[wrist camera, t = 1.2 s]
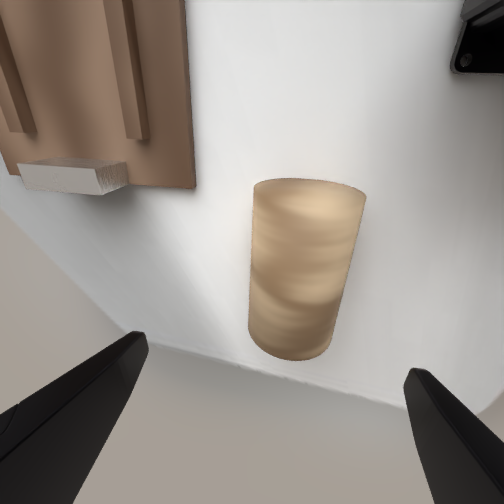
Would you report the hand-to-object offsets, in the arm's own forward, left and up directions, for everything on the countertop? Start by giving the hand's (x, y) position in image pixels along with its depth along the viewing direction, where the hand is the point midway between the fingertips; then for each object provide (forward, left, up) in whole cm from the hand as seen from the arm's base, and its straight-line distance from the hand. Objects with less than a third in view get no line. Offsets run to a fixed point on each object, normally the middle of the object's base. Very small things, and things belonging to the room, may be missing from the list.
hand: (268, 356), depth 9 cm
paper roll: (-2, +1, -11) cm, 11 cm away
